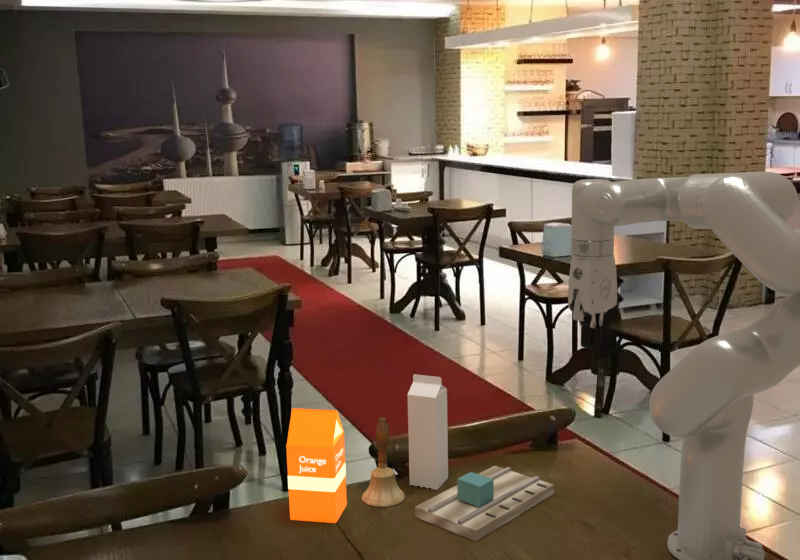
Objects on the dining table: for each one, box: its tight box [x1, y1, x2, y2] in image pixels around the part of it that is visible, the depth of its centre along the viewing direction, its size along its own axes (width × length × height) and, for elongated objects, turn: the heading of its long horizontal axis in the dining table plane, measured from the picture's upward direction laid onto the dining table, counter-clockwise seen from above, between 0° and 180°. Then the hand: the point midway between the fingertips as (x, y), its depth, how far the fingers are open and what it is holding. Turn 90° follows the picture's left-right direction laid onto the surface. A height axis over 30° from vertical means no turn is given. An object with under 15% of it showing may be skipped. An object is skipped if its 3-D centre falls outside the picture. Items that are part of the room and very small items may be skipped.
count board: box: [414, 465, 555, 542], centre depth 158 cm, size 14×24×3 cm, turn 137°
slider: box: [456, 471, 494, 507], centre depth 156 cm, size 5×4×4 cm
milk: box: [407, 373, 449, 491], centre depth 167 cm, size 6×6×22 cm
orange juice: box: [285, 407, 348, 524], centre depth 156 cm, size 8×9×20 cm
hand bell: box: [361, 417, 406, 508], centre depth 162 cm, size 8×8×16 cm
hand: (590, 347), depth 157 cm, fingers closed
